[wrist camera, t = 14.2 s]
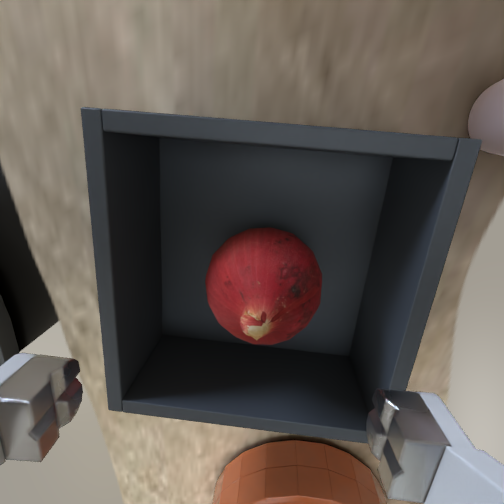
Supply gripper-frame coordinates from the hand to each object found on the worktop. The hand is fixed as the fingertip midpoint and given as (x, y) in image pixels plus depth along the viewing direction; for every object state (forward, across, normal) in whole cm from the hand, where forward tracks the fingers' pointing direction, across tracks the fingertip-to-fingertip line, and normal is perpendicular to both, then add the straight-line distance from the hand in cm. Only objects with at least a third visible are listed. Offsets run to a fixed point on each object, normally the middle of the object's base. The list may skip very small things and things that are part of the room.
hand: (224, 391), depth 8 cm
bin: (+12, -1, 0) cm, 12 cm away
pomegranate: (+11, -1, 0) cm, 11 cm away
